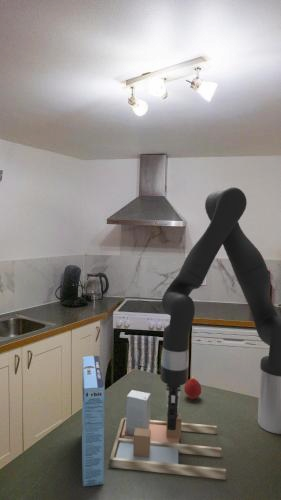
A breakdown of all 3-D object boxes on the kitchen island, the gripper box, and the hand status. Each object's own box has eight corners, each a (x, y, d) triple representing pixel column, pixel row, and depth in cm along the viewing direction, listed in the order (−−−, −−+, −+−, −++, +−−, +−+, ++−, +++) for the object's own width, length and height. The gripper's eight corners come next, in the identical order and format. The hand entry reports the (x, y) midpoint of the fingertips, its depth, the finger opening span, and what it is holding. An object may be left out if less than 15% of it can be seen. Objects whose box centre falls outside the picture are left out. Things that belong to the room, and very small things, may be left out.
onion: (200, 395, 117) (200, 373, 117) (201, 404, 112) (202, 381, 111) (183, 394, 118) (184, 372, 117) (184, 402, 112) (185, 379, 112)
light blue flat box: (103, 485, 75) (105, 387, 73) (80, 487, 74) (82, 388, 73) (99, 433, 94) (100, 355, 93) (81, 434, 93) (82, 355, 92)
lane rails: (216, 432, 96) (216, 425, 96) (225, 479, 77) (226, 471, 77) (121, 423, 99) (122, 417, 99) (109, 467, 80) (109, 459, 80)
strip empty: (177, 452, 86) (178, 427, 86) (178, 470, 80) (179, 444, 79) (119, 446, 88) (120, 422, 88) (115, 463, 81) (115, 437, 81)
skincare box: (149, 433, 94) (151, 393, 93) (145, 442, 90) (147, 400, 89) (129, 428, 96) (131, 389, 95) (124, 437, 92) (126, 396, 91)
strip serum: (180, 430, 96) (181, 408, 95) (180, 449, 87) (181, 425, 87) (126, 425, 97) (126, 403, 97) (121, 443, 89) (122, 419, 89)
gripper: (189, 375, 83) (185, 437, 84) (187, 355, 97) (184, 408, 98) (159, 373, 84) (156, 434, 85) (162, 353, 98) (159, 405, 99)
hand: (171, 420), depth 92 cm, fingers open, 8 cm apart
